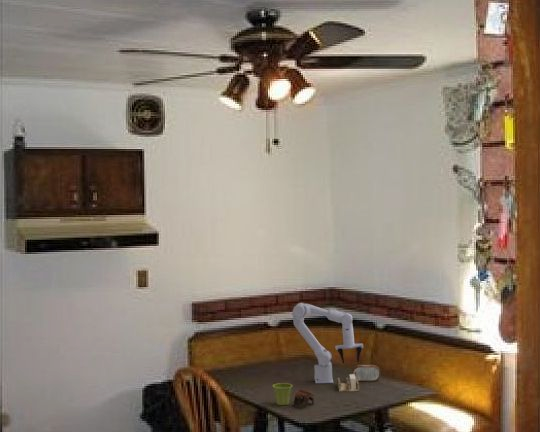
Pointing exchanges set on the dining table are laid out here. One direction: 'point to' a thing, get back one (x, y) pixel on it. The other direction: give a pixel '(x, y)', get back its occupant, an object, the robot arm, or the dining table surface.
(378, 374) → the tin
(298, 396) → the pottery mug
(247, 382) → the dining table surface
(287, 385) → the plant pot
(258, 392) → the dining table surface
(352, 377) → the tile
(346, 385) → the rack
